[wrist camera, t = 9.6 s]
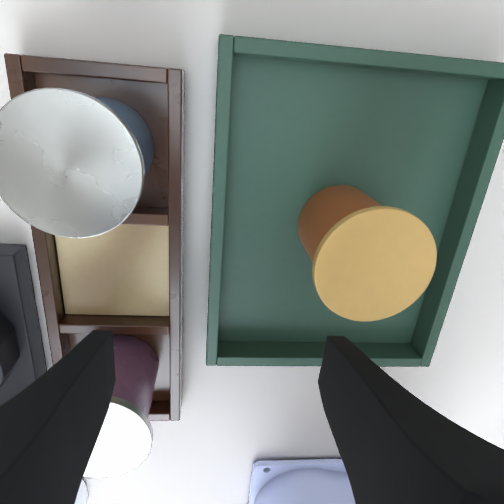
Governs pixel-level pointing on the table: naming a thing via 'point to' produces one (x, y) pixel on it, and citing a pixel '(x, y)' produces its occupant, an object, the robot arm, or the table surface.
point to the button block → (18, 324)
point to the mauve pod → (126, 411)
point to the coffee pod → (365, 253)
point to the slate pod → (72, 160)
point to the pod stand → (121, 228)
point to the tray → (338, 173)
